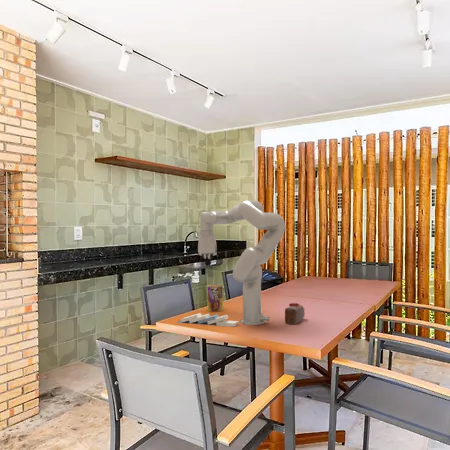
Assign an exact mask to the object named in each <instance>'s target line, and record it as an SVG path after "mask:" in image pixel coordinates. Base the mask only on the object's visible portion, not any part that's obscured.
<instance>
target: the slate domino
mask: <svg viewBox="0 0 450 450" xmlns="http://www.w3.org/2000/svg"><path fill="white" fill-rule="evenodd" d="M218 317H220V315H219V313H217V314H214V315H210V317H208V318H206V319H203V320H199V321H198V324H197V325H200V323H204V322H207V321H211V320H214V319H216V318H218Z"/></svg>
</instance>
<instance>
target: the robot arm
mask: <svg viewBox="0 0 450 450" xmlns="http://www.w3.org/2000/svg"><path fill="white" fill-rule="evenodd" d="M243 220H244V221H245V220H246V221H247V222H248V223H249V224H251V225H252V226H253V227H255V228H256V229H259V230H261V231H266V230H267V231H266V232H265V233H264V234H263V236H262V237H261V238H260V240H259V241H258V244H256V245H255V246H250V247H247V248H245V250H244V251H243V252H242V253H241V255H240V256H239V259H237V262H236V264H235V265H234V268H233V269H232V277H233V279H234V281H236V282H238V283H243V286H242V310H243V311H242V314H243V316H242V317H243V318H242V319H241V320H240V324H242V325H246V326H261V325H263V324H265V322H266V321H267V322H269V321H270V316H266V315H264V313H263V312H262V277H263V269H262V266H261V265H264V264H266V263H267V262H268V261H269V259H270V258H271V256H272V254H273V253H274V251H275V249H276V248H277V246H278V244H279V242H280V241H281V240H282V238H283V236H284V233H285V230H286V224H285V220H284V218H283V217H282V216H281V215H280V214H279V213H276V212H264V206H263V204H262V202H261V201H258V200H250V199H249V200H244V201H241V202H240V203H238V204H235V205H234V206H232V208H231V209H228V210H212V211H202V212H200V214H199V223H200V225H199V226H200V230H199V231H198V234H199V236H198V244H197V253H198V255H199V256H201V257H203V259H204V264H205V266H206V267H207V266H208V267H210V266H211V265H212V259H213V256H217V254H218V253H217V250H218V248H217V240H216V239H217V238H216V235H215V234H214V233H215V232H214V231H215V230H214V229H215V227H214V225H228V224H232V223H235V222H239V221H243Z"/></svg>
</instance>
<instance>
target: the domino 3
mask: <svg viewBox="0 0 450 450" xmlns="http://www.w3.org/2000/svg"><path fill="white" fill-rule="evenodd" d="M228 318H229V315H228V314H224V315H221V316H219V317H218V318H216V319H214V320H211V321H207V323H208V325H207V326H210V325H209V324H212V323H216V322H219V321H222V320H228Z"/></svg>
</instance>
